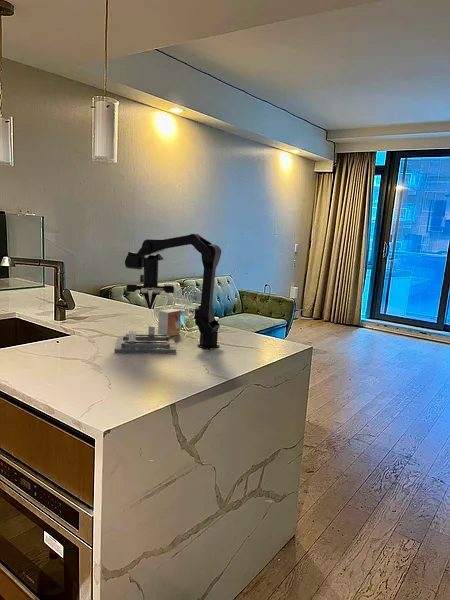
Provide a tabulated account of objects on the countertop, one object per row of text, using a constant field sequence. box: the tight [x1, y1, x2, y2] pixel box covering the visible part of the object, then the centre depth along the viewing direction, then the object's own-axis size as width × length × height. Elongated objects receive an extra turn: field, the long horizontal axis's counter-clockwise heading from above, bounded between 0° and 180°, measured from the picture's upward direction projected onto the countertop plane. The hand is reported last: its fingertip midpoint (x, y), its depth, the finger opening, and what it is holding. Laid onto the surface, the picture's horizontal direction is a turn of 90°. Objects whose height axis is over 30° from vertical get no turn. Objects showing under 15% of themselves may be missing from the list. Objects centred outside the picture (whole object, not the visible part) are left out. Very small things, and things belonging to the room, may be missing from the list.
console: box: [113, 333, 177, 355], centre depth 174 cm, size 22×19×3 cm
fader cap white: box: [128, 330, 137, 343], centre depth 169 cm, size 2×4×5 cm, turn 9°
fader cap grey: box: [147, 324, 156, 336], centre depth 180 cm, size 2×3×5 cm
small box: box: [157, 308, 182, 337], centre depth 193 cm, size 8×6×10 cm
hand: (149, 309), depth 185 cm, fingers closed
